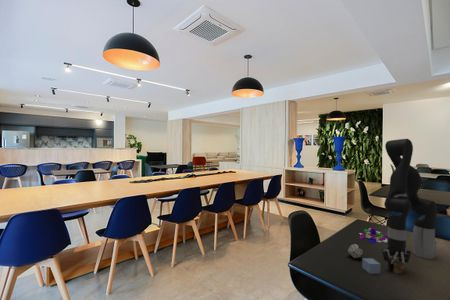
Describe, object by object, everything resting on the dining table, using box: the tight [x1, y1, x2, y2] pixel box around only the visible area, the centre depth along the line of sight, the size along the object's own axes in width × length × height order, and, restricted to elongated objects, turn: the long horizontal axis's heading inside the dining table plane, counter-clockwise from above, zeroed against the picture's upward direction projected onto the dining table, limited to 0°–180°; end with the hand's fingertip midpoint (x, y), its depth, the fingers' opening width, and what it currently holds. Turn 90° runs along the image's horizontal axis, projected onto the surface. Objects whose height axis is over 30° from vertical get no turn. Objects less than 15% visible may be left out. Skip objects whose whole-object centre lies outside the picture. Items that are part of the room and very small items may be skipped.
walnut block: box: [387, 258, 405, 274], centre depth 111 cm, size 4×4×5 cm
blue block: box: [361, 257, 381, 275], centre depth 111 cm, size 6×6×5 cm
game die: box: [345, 242, 365, 260], centre depth 124 cm, size 9×8×10 cm
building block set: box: [358, 227, 388, 244], centre depth 154 cm, size 25×20×4 cm
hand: (395, 269), depth 111 cm, fingers closed on walnut block, 4 cm apart
